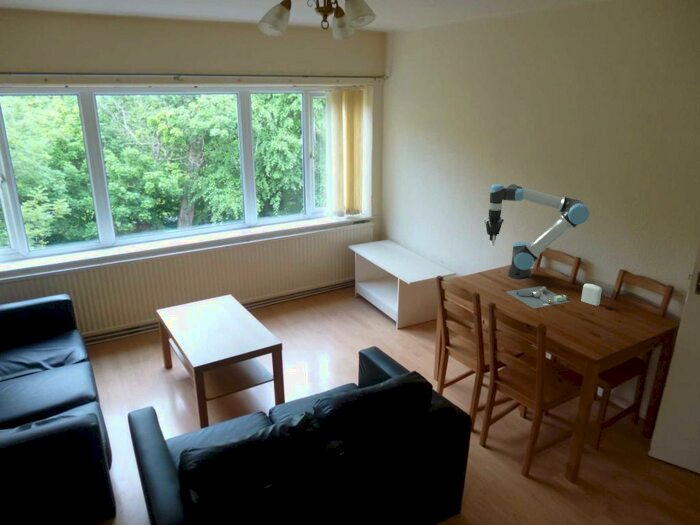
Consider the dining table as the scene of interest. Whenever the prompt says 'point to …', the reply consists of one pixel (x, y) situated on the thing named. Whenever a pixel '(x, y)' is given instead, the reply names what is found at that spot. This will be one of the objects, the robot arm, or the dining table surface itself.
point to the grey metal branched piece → (535, 294)
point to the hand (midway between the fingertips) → (492, 245)
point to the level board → (537, 301)
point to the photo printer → (591, 294)
